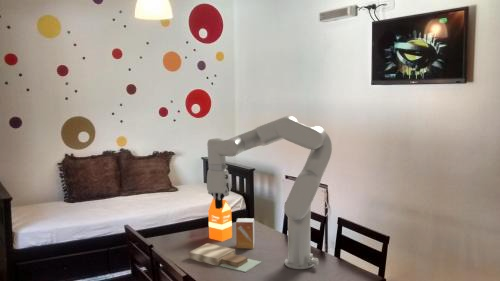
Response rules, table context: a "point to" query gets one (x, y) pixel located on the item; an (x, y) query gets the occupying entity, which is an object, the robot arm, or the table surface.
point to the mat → (244, 267)
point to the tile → (234, 260)
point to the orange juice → (220, 222)
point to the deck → (210, 253)
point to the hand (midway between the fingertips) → (219, 208)
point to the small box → (245, 233)
